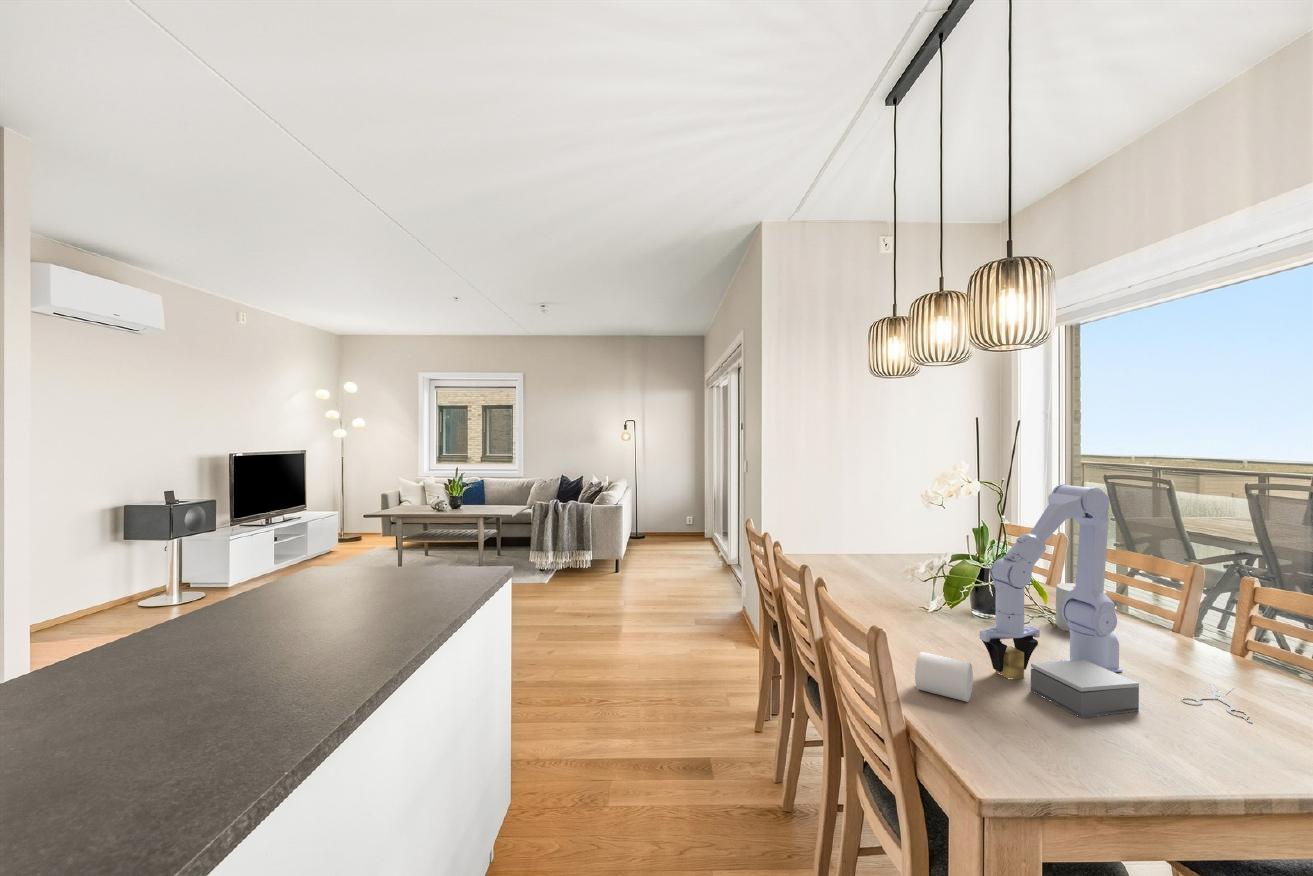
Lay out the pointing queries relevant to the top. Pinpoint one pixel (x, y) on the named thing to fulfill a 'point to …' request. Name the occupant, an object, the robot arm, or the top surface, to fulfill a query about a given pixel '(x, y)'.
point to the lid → (1084, 675)
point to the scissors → (1215, 697)
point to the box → (1085, 697)
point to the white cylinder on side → (944, 676)
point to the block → (1013, 663)
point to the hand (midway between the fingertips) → (1009, 669)
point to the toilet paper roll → (1060, 599)
